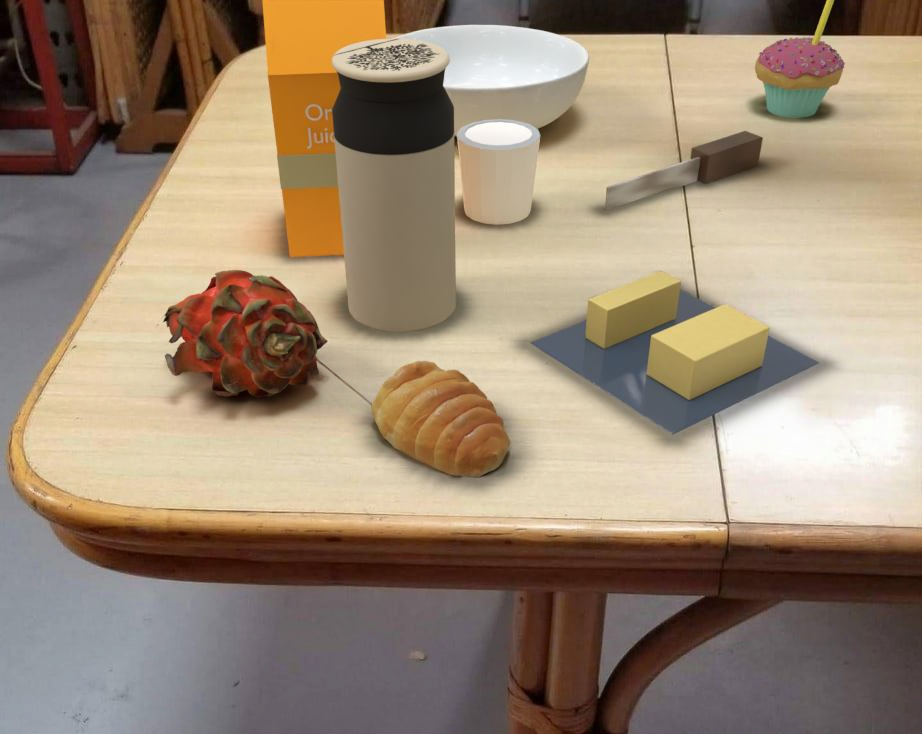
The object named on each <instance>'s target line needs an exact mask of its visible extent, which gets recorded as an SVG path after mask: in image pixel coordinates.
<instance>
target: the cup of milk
mask: <svg viewBox="0 0 922 734" xmlns="http://www.w3.org/2000/svg"><path fill="white" fill-rule="evenodd" d="M456 139H457V148H458V159H459V168H460V177H461V178H460V179H461V190H462V198H463V209H464V213H465V216H466V217H468V218H469V219H470V220H472V221H475V222H478V223H481V224H486V225H497V226H498V225H510V224H514V223H518V222H521V221H522V220H525V219H526V218H528V217H529V215H530V213H531V211H532V203H533V196H534V188H535V181H536V180H535V179H536V173H537V166H538V156H539V151H540V150H539V149H540V141H541V133H540V131H539V128H538V129H537V128H535V127H533V126H531V125H530V124H527V123H523V122H519V121H514V120H503V119H496V120H483V121H478V122H473V123H470V124H468V125H466V126H464V127H461V129H460V130H459V131H458V132H457V136H456Z"/></svg>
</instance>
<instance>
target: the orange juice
mask: <svg viewBox="0 0 922 734" xmlns="http://www.w3.org/2000/svg"><path fill="white" fill-rule="evenodd" d="M261 1H262V2H261V3H262V14H263V26H264V28H263V29H264V40H265V52H266V53H265V54H266V67H267V80H268V89H269V90H268V91H269V97H270V104H271V114H272V120H273V122H272V123H273V130H274V138H275V146H276V159H277V167H278V176H279V184H280V190H281V194H282V195H281V196H282V202H283V203H282V205H283V211H284V221H285V228H286V236H287V237H286V238H287V244H288V252H289V258H301V257H325V256H326V257H327V256H344V247H343V235H342V223H341V212H340V200H339V188H338V176H337V164H336V152H335V140H334V128H333V116H332V108H333V106H334V104H335V101H336V99H337V96H338V94H339V91H340V89H341V87H340V82H339V77H338V73H337V71H336V70H335V69H334V67H333V65H332V57H333V55H334V54H335V53H336V52H337V51H338V50H340V49H342V48H344V47H346V46H348V45H351V44H355V43H358V42H363V41H369V40H376V39H387V28H386V27H387V26H386V13H385V12H386V11H385V0H261Z"/></svg>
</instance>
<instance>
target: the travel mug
mask: <svg viewBox="0 0 922 734" xmlns="http://www.w3.org/2000/svg"><path fill="white" fill-rule="evenodd" d="M449 62H450V57H449V54H448V53H447V51H446V50H444V49H443V48H442V47H440V46H438V45H435V44H432V43H429V42H425V41H419V40H412V39H394V38H386V39H376V40H369V41H363V42H358V43H355V44H351V45H348V46H346V47H344V48H342V49H340V50H338V51H337V52H336V53H335V54H334V55H333V57H332V65H333V67H334V69H335V70H336V71H337V73H338V77H339V82H340V87H341V89H340V91H339V94H338V96H337V99H336V101H335V104H334V106H333V108H332V116H333V128H334V140H335V152H336V164H337V176H338V188H339V200H340V212H341V223H342V235H343V247H344V255H343V256H344V257H343V258H344V271H345V279H346V280H345V281H346V282H345V283H346V294H347V304H348V305H347V306H348V307H347V308H348V311H349V314H350V316H352V318H353V319H354V320H355V321H357V322H358V323H359V324H361V325H364V326H366V327H368V328H371V329H376V330H379V331H384V332H385V331H386V332H413V331H419V330H425V329H427V328H431V327H434V326H437V325H439V324H441V323H442V322H444V321H446V320H447V319H449V318H450V317H451V316H452V315H453V313H454V312H455V310H456V308H457V307H456V306H457V279H456V278H457V276H456V273H457V269H456V267H457V266H456V182H455V181H456V177H455V176H456V175H455V174H456V171H455V168H456V167H455V163H456V161H455V136H454V106H453V103H452V102H451V100H450V98H449V96H448V94H447V92H446V90H445V88H444V86H443V83H444V74H445V69H446V67H447V66H448V64H449Z"/></svg>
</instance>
